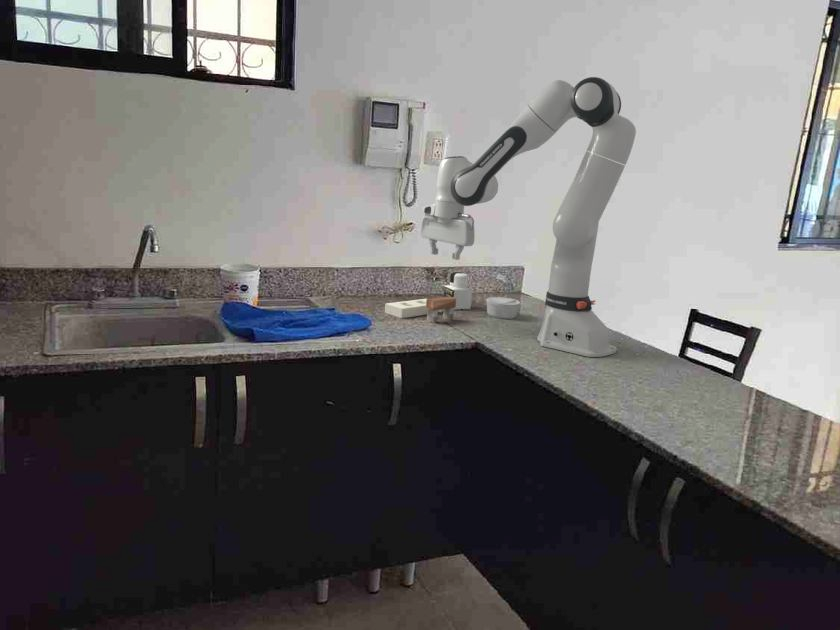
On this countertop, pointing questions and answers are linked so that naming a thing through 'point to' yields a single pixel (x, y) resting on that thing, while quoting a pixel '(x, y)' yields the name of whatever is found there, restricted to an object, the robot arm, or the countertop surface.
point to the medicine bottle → (459, 290)
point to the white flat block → (407, 308)
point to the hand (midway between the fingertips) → (444, 256)
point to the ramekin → (502, 307)
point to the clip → (438, 304)
